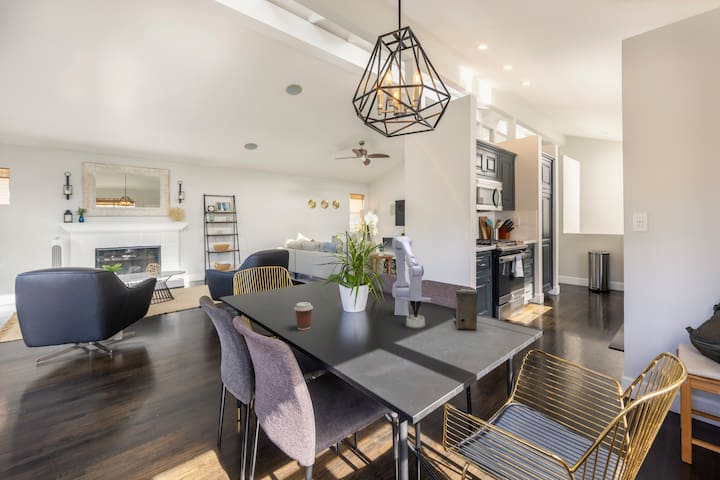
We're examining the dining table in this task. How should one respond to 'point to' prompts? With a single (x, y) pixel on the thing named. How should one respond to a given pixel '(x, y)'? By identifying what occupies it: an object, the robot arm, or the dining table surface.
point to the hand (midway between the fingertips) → (415, 315)
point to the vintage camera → (466, 309)
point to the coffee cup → (303, 315)
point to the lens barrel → (415, 322)
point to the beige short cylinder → (415, 317)
